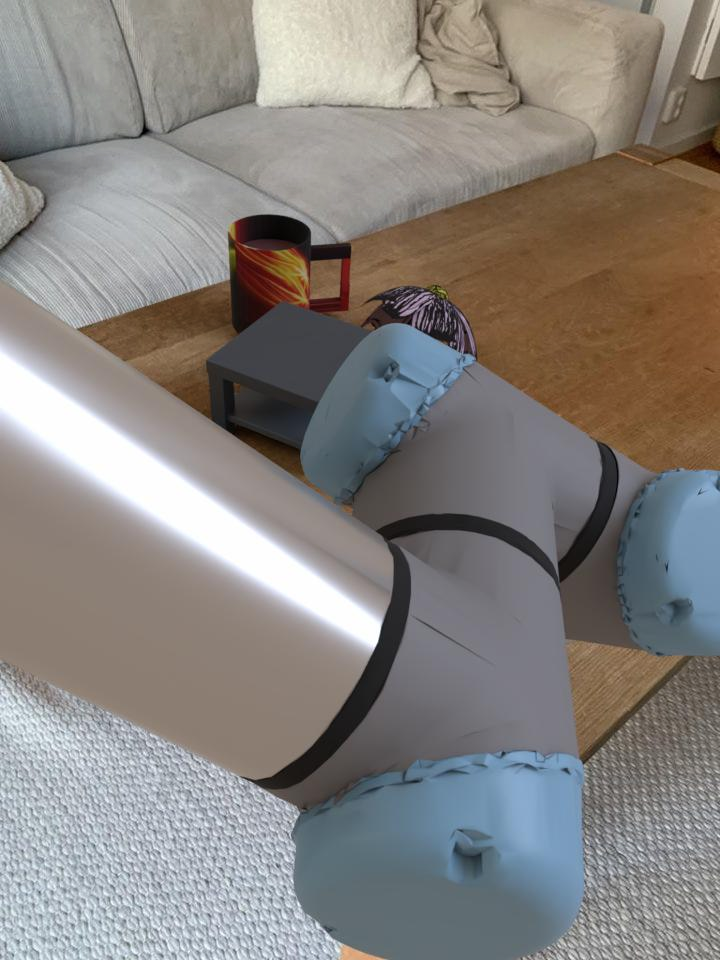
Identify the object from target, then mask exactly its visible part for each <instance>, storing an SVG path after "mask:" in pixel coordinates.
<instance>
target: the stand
mask: <svg viewBox="0 0 720 960" xmlns="http://www.w3.org/2000/svg"><path fill="white" fill-rule="evenodd" d="M373 331H374V330H371V329H368V328H366V327H363V328H362V327H360V326H359V325H356V324H353V323H350V322H347V321H345V320H341V319H339V318H335V317H332V316H329V315H326V314H324V313H317V312H314V311H311V310H308V309H305V308H302V307H299V306H296V305H293V304H290V303H287V302H284V301H282V302H280V303H279V304H278V305H276V306H275V307H274V308H272V309H271V310H270V311H269V312H267V313H266V314H265V315H263V316H262V317H261V318H260V319H258V320H257V321H256V322H254V323H253V324H252V325H250V326H249V327H248V328H247V329H245V330H244V331H243V332H241V333H240V334H238V335H236V336H235V337H233V338H232V339H231V340H230V341H228V342H227V343H226V344H224V345H223V346H222V347H221V348H219V349H218V350H216V352H214V353H213V354H212V355H210V356H209V357H208V358H206V359H205V366H206V367H205V368H206V369H205V370H206V373H207V376H208V377H207V379H208V391H209V405H210V418H211V419H210V420H211V421H213V422H214V423H216V424H217V425H219V426H220V427H222V428H223V429H225V430H226V431H228V432H229V433H231V434H233V433H234V432H235V431H236V430H237V425H238V426H241V427H244V428H245V429H249V430H250V431H254V432H256V433H258V434H261V435H263V436H266V437H268V438H271V439H274V440H276V441H279V442H280V443H283V444H286V445H289V446H291V447H293V448H296V449H298V450H301V447H302V443H303V440H304V436H305V433H306V431H307V428H308V426H309V423H310V421H311V418H312V416H313V414H314V412H315V410H316V408H317V406H318V404H319V402H320V400H321V398H322V396H323V394H324V393H325V391H326V389H327V387H328V386H329V384H330V382H331V381H332V379H333V378H334V376H335V374H336V373H337V371H338V370H339V368H340V367H341V366H342V364H343V363H344V361H345V360H346V359H347V357H348V356H349V355H350V353H351V352H352V351H353V350H354V349H355V348H356V346H357V345H358V344H359V343H360V342H361V341H362V340H363V339H364V338H365V337H366V336H368V335H369V334H370V333H371V332H373ZM235 384H236V385H238V386H241V387H242V388H241V389H239V390H238V391H237V392H236V393H235Z"/></svg>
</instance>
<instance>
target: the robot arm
mask: <svg viewBox="0 0 720 960" xmlns="http://www.w3.org/2000/svg"><path fill="white" fill-rule="evenodd" d="M372 331H373V332H371V333H370V334H369V335H368V336H366V337H365V338H364V339H363V340H362V341H361V342H360V343H359V344H358V345H357V346H356V348H355V349H354V350H353V351H352V352H351V353H350V355H349V356H348V357H347V359H346V360H345V361H344V363H343V364H342V366H341V367H340V368H339V370H338V371H337V373H336V374H335V376H334V378H333V379H332V381H331V382H330V384H329V386H328V387H327V389H326V391H325V393H324V394H323V396H322V398H321V400H320V402H319V404H318V406H317V408H316V410H315V412H314V414H313V416H312V418H311V421H310V423H309V426H308V428H307V431H306V433H305V436H304V440H303V443H302V447H301V449H300V456H299V457H300V464H301V466H302V470H303V473H304V476H305V478H306V479H307V481H308V482H309V484H311V485H313V487H315V488H317V489H318V490H320V491H321V492H322V493H324V494H326V495H327V496H328V497H329V498H330V499H332V500H333V502H332V501H331V500H330V499H328V498H327V497H325V496H324V495H322V494H321V493H319V492H318V491H317V490H315V489H314V488H312V487H310V486H309V485H307V484H306V483H304V482H303V481H302V480H300V479H299V478H297V477H296V476H294V475H293V474H291V473H289V471H287V470H285V469H284V468H282V467H281V466H279V465H278V464H277V463H275V462H273V461H272V460H270V459H269V458H267V457H266V456H265V455H263V454H261V453H260V452H259V451H257V450H256V449H254V448H253V447H252V446H250V445H248V444H247V443H245V442H244V441H242V440H241V439H240V438H238V437H236V436H235V435H233V433H229V432H228V431H226V430H225V429H223V428H222V427H220V426H219V425H217V424H216V423H214V422H213V421H212V419H210V418H208V417H207V416H206V415H204V414H203V413H201V412H200V411H198V410H197V409H195V408H194V407H192V406H191V405H189V404H188V403H186V402H185V401H183V400H182V399H180V398H179V397H178V396H176V395H174V394H173V393H171V392H170V391H168V390H167V389H165V388H164V387H163V386H161V385H160V384H158V383H157V382H155V381H154V380H152V379H151V378H149V377H148V376H146V375H145V374H143V373H142V372H141V371H139V370H137V369H136V368H134V366H132V365H130V364H129V363H127V362H125V361H124V360H122V359H121V358H120V357H119V356H117V355H115V354H114V353H112V352H111V351H109V350H108V349H106V347H103V346H102V345H100V344H99V343H97V342H96V341H94V340H93V339H92V338H90V337H88V336H87V335H86V334H84V333H83V332H81V331H80V330H78V328H77V329H76V328H75V327H74V326H72V325H71V324H69V323H68V322H66V321H65V320H64V319H62V318H61V317H59V316H57V315H56V314H55V313H53V312H52V311H50V310H49V309H47V308H46V307H44V306H43V305H41V304H40V303H38V302H37V301H36V300H34V299H32V298H31V297H29V296H28V295H27V294H25V293H24V292H22V291H20V290H19V289H18V288H16V287H15V286H13V285H12V284H10V283H9V282H7V281H6V280H4V279H3V278H2V277H0V660H1V661H3V662H5V663H7V664H8V665H11V666H13V667H15V668H17V669H19V670H21V671H23V672H25V673H28V674H29V675H32V676H33V677H35V678H37V679H39V680H42V681H44V682H45V683H47V684H49V685H52V686H54V687H56V688H58V689H60V690H62V691H63V692H64V691H65V692H66V693H68V694H70V695H72V696H74V697H76V698H78V699H80V700H81V701H82V700H83V701H84V702H86V703H88V704H90V705H92V706H95V707H96V708H98V709H101V710H102V711H105V712H107V713H109V714H111V715H113V716H115V717H117V718H119V719H121V720H123V721H125V722H127V723H129V724H132V725H133V726H135V727H137V728H139V729H141V730H144V731H146V732H147V733H149V734H152V735H153V736H155V737H158V738H160V739H162V740H164V741H166V742H168V743H170V744H171V745H174V746H176V747H178V748H180V749H182V750H184V751H187V752H188V753H191V754H192V755H195V756H196V757H198V758H201V759H203V760H204V761H207V762H208V763H211V764H212V765H214V766H217V767H219V768H220V769H223V770H225V771H227V772H229V773H231V774H233V775H235V776H237V777H239V778H241V779H244V780H246V781H247V782H250V783H251V784H254V785H256V786H257V787H259V788H261V789H262V790H264V791H266V792H267V793H269V794H271V796H274V797H276V798H278V799H279V800H282V801H284V802H287V803H289V804H291V805H292V806H295V807H296V809H297V811H298V812H299V815H298V816H297V818H296V820H295V822H294V825H293V828H292V831H291V834H290V839H291V841H292V842H293V843H294V845H295V852H294V853H295V855H294V862H293V872H292V873H293V874H292V881H293V890H294V894H295V897H296V899H297V902H298V903H299V905H300V907H301V908H302V910H303V913H304V914H305V915H307V916H309V918H311V919H313V920H314V921H315V922H317V923H318V924H319V925H320V927H321V929H322V930H324V932H326V933H327V934H328V935H329V936H330V937H331V939H333V940H335V941H336V942H338V943H340V944H343V945H345V946H347V947H349V948H351V949H353V950H355V951H358V952H361V953H364V954H366V955H369V956H372V957H375V958H379V959H382V960H518V959H522V958H526V957H529V956H532V955H535V954H538V953H540V952H542V951H544V950H546V949H547V948H549V947H551V946H552V945H553V944H555V943H557V941H559V939H561V938H562V937H563V936H564V935H565V934H566V933H567V932H568V931H569V930H570V928H571V927H572V926H573V924H574V923H575V921H576V919H577V916H578V915H579V913H580V909H581V907H582V904H583V900H584V895H585V868H584V867H585V865H584V864H585V863H584V843H583V841H584V840H583V787H584V786H585V783H586V775H585V770H584V765H583V761H582V760H581V759H580V753H579V743H578V736H577V727H576V720H575V719H576V718H575V709H574V699H573V693H572V684H571V676H570V667H569V666H570V665H569V657H568V650H567V645H570V644H572V643H573V642H576V641H578V642H584V643H591V644H597V645H603V646H610V647H616V648H625V649H630V650H637V651H643V652H647V653H648V654H649V655H652V656H655V657H658V658H662V657H672V656H683V657H685V656H687V657H720V470H712V469H685V468H684V467H680V468H677V469H676V468H674V469H667V470H663V471H661V472H659V473H657V472H654V471H651V470H649V469H646V468H645V467H643V466H642V465H640V464H638V463H637V462H635V461H634V460H632V459H630V458H629V457H627V456H626V455H624V454H622V453H621V452H620V451H618V450H616V449H615V448H613V447H612V446H610V445H609V444H607V443H605V442H601V441H599V440H597V439H595V438H594V437H592V436H590V435H589V434H588V433H586V432H584V431H583V430H581V428H578V427H577V426H575V425H574V424H572V423H571V422H569V421H568V420H566V419H564V417H562V416H560V415H559V414H557V413H556V412H554V411H552V410H551V409H550V408H548V407H546V406H545V405H543V404H542V403H540V402H539V401H537V400H536V399H534V398H532V397H531V396H530V395H528V394H526V393H525V392H523V391H522V390H520V389H519V388H517V387H516V386H514V385H512V384H511V383H510V382H508V381H507V380H505V379H504V378H503V377H500V376H499V375H497V374H496V373H494V372H493V371H491V370H489V369H488V368H487V367H485V366H484V365H482V364H480V363H479V362H478V361H475V360H476V358H475V357H473V356H472V355H470V354H462V353H460V352H458V351H456V350H454V349H452V348H451V347H449V346H448V344H445V343H443V342H442V341H440V340H437V339H434V338H432V337H430V336H428V335H426V334H425V333H423V332H421V331H419V330H417V329H415V328H414V327H412V326H410V325H407V324H402V323H391V324H387V325H384V326H382V327H380V328H378V329H376V330H375V329H373V330H372ZM344 506H346V507H347V508H350V509H352V514H351V513H349V512H347V511H346V510H344V509H343V508H342V507H344Z"/></svg>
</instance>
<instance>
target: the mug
mask: <svg viewBox="0 0 720 960" xmlns="http://www.w3.org/2000/svg"><path fill="white" fill-rule="evenodd" d="M227 243H228V244H227V245H228V263H229V264H228V266H229V268H228V269H229V284H230V286H229V287H230V307H231V309H230V310H231V325H232V328H233V329H234V331H235V332H236V333H237V334H238V335H239V334H240V333H241V332H243V331H244V330H245V329H247V328H248V327H249V326H250V325H252V324H253V323H254V322H256V321H257V320H258V319H260V318H261V317H262V316H263V315H265V314H266V313H267V312H269V311H270V310H271V309H272V308H274V307H275V306H276V305H278V304H279V303H280V302H282V301H284V302H287V303H290V304H293V305H296V306H299V307H302V308H305V309H308V310H311V311H314V312H317V313H320V314H324V313H335V312H349V309H350V292H351V291H350V290H351V283H350V279H351V278H350V277H351V262H352V244H351V242H339V243H326V244H325V243H323V244H312V231H311V228H310V226H308V225H307V224H306V223H305V222H303V221H301V220H299V219H297V218H294V217H292V216H287V215H282V214H273V213H270V214H269V213H265V214H263V213H261V214H254V215H249V216H245V217H242V218H239V219H236V220H235V221H234V222H232V223H231V224H230V225H229V226H228V229H227ZM332 260H341V261H340V279H339V280H340V281H339V282H340V283H339V296H335V297H324V298H323V297H322V298H311V297H310V296H311V262H316V261H317V262H319V261H332Z"/></svg>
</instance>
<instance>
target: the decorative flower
mask: <svg viewBox="0 0 720 960" xmlns="http://www.w3.org/2000/svg"><path fill="white" fill-rule="evenodd" d="M449 296H450V295H449V293H448V291H447V289H446V288H444V287H442V286H441V285H437V284H433V285H429V286H427V287H421V286H417V285H416V286H415V285H402V286H397V287H392V288H390V289H387V290H384V291H382V292H379V293H377V294H375V295H374V296H372V297H371V298H369V299H367V300H366V301H365V302H364V303H363V304H361V307H363V306H365V305H366V304H368V303H371V302H373V301H381V304H379V305H378V306H377V307H375V309H374V310H372V311H371V312H370V313H369V315H368V316H367V317H366V318H364V320H363V322H362V323H361V325H360V326H359V327H362V328H365V327H366V326H367V325H369V324H371V326H372V327H373V328H374V330H376V329H378V328H380V327H382V326H384V325H387V324H391V323H402V324H407V325H410V326H412V327H414V328H415V329H417V330H419V331H421V332H423V333H425V334H426V335H428V336H430V337H432V338H434V339H436V340H438V341H439V342H441V343H443V342H444V343H446V344H447V346H449V347H451V348H452V349H454V350H456V351H458V352H460V353H462V354H470V355H472V356H473V357H475V358H476V360H475V361H476V362H478V349H477V344H476V338H475V335H474V332H473V329H472V327H471V325H470V322H469V320H468V319H467V316H465V314H464V313H463V311H462V310H461V309H460V308H459V307H458V306H457V305H456V304H454V303H453V302H452V301H450V300H449V299H450V298H449Z"/></svg>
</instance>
